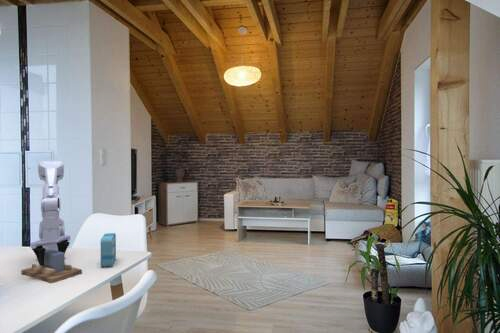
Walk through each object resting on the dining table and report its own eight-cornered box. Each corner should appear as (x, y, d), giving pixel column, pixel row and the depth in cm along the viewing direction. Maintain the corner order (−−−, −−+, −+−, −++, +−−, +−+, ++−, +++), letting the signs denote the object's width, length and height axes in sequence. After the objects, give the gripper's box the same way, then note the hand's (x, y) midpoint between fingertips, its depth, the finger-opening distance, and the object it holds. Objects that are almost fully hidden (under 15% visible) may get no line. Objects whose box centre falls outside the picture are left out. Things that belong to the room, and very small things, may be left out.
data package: (112, 267, 143) (112, 238, 143) (100, 268, 142) (100, 239, 142) (115, 258, 155) (115, 232, 154) (105, 259, 153) (104, 232, 153)
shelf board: (21, 273, 134) (21, 264, 134) (51, 265, 145) (51, 257, 145) (51, 283, 125) (51, 273, 125) (81, 273, 135) (81, 264, 135)
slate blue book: (39, 269, 135) (39, 251, 135) (49, 266, 139) (49, 249, 139) (54, 273, 130) (54, 255, 130) (64, 270, 134) (64, 252, 134)
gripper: (37, 232, 126) (38, 269, 126) (74, 225, 139) (75, 259, 139) (27, 230, 129) (27, 266, 130) (64, 224, 142) (64, 256, 142)
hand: (51, 262), depth 135 cm, fingers open, 7 cm apart
